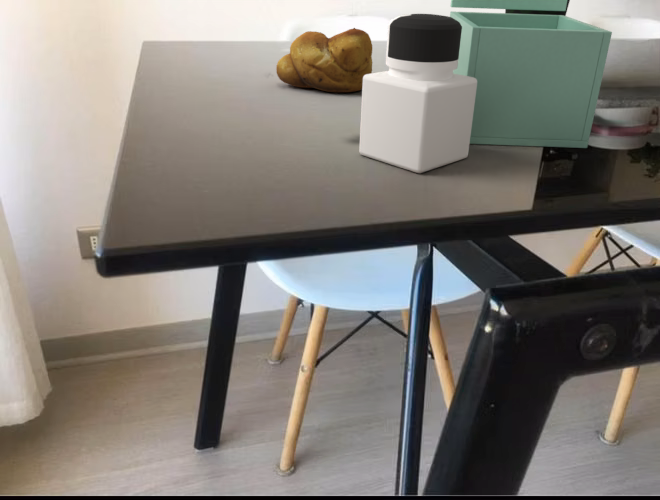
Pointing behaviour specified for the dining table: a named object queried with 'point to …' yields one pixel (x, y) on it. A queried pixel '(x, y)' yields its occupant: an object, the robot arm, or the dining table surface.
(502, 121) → the cool box
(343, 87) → the bread roll
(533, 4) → the lid
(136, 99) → the dining table surface
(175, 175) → the dining table surface
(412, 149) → the medicine bottle
